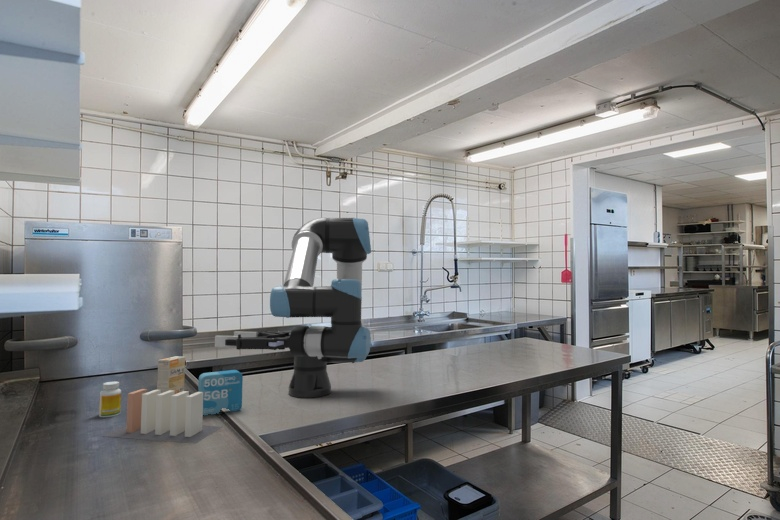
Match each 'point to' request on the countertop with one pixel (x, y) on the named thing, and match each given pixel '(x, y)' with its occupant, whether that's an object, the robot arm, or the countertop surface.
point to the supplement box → (171, 374)
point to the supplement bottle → (110, 400)
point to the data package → (221, 391)
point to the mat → (164, 435)
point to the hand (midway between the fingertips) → (225, 338)
